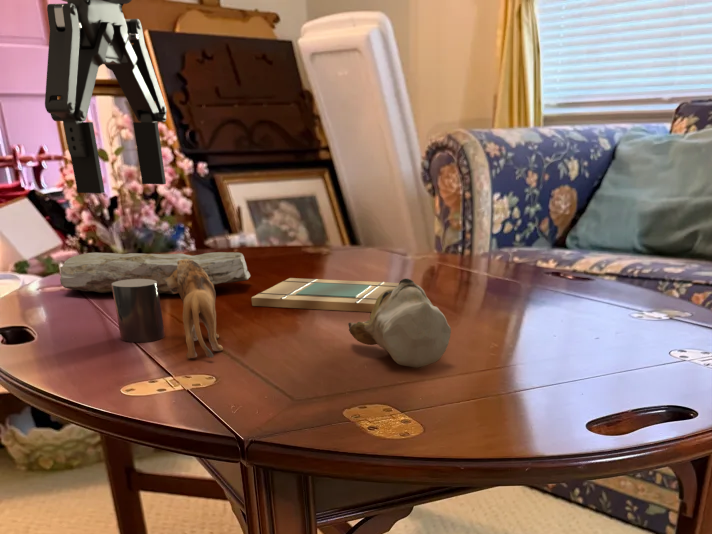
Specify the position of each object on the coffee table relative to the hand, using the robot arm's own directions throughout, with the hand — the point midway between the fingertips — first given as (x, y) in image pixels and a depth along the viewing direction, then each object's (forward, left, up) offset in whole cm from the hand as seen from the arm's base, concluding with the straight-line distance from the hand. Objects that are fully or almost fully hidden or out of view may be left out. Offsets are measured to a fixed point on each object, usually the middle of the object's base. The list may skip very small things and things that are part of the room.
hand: (124, 188), depth 86 cm
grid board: (+16, +27, -17) cm, 36 cm away
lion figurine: (+8, -3, -17) cm, 19 cm away
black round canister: (0, -1, -17) cm, 17 cm away
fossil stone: (-13, +27, -17) cm, 35 cm away
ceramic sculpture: (+33, -2, -17) cm, 37 cm away
